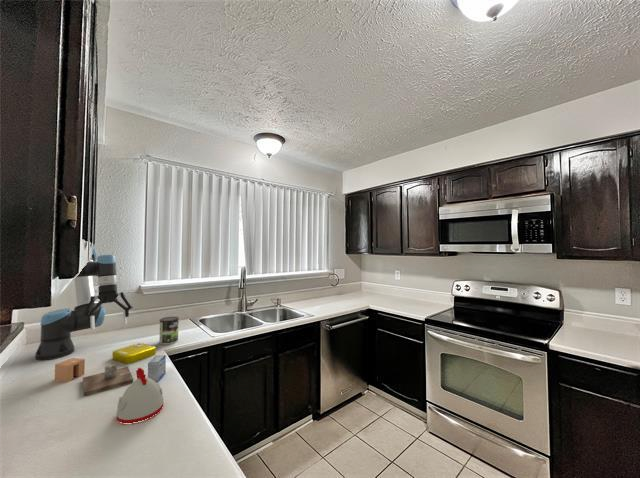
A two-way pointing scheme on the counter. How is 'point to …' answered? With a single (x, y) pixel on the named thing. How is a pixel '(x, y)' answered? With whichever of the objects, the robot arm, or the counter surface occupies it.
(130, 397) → the chicken dome
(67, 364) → the orange cube
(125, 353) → the element tile
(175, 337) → the coffee can
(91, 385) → the board
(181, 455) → the counter surface
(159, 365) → the medicine box
